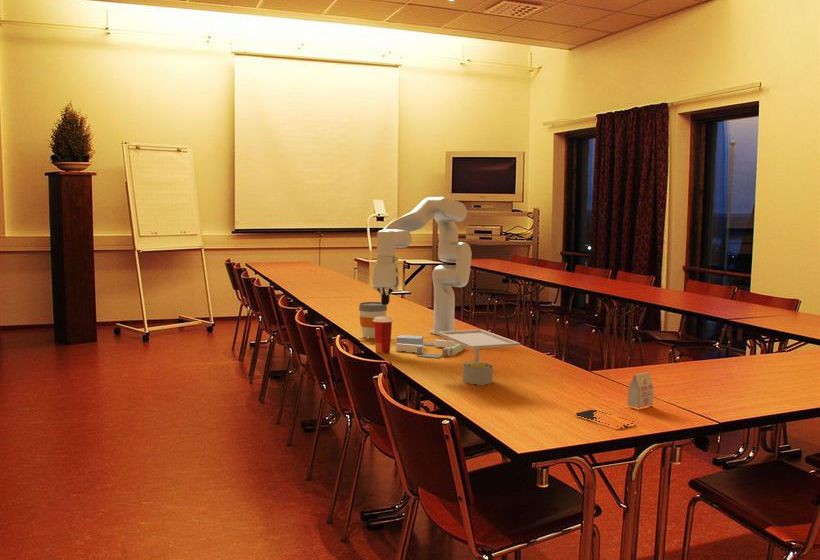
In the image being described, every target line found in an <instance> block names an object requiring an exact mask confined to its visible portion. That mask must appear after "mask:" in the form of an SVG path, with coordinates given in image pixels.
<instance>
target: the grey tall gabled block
mask: <svg viewBox="0 0 820 560" xmlns="http://www.w3.org/2000/svg"><path fill="white" fill-rule="evenodd" d="M653 404H654V385H653V381H652V379H651V375H650V372H648V371H647V372H643V373H637V374H634V375H633V376H632V379H631V382H630V383H629V385H628V387H627V405H629V406H633V407H637V408H640V407H645V406H649V405H653Z"/></svg>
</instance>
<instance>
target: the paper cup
mask: <svg viewBox="0 0 820 560" xmlns="http://www.w3.org/2000/svg"><path fill="white" fill-rule="evenodd" d="M392 318H393V317H391V316H387V315H386V316H380V317H375V318H374V320H373V321H374V329H375V339H374V345H375V353H376V352H377V353H376V354H380V353H386V354H390V353H389V352H390V351H391V340H392V328H393V327H392V325H393V319H392Z"/></svg>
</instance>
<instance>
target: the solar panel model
mask: <svg viewBox="0 0 820 560" xmlns="http://www.w3.org/2000/svg"><path fill="white" fill-rule="evenodd" d="M437 334H438V335H437V336H440V337H443V338H445V339H447V340H448V341H454V342H456V343H459V344H461V345H463V346H465V347H466V348H468V349H471V350H474V361H468V362H465V363H463V364H462V382H463V383H465V384H467V383H469V384H468V385H472V384H477V385H476V386H486V385H485V384H488V385H491V384H493V374H494V373H493V371H494V370H493V369H494V367H493V366H494V365H492V364H491V363H488V362H481V361H480V349H486V348H487V349H488V348H503V347H504V348H505V347H520V346H521V342H518V341H515V340H513V339H510V338H507V337H504V336H501V335H499V334H496V333H493V332H491V331H487V330H484V329H481V328H480V329H479V328H478V329H466V330H464V329H463V330H457V331H440V332H437ZM490 383H491V384H490Z"/></svg>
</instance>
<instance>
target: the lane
mask: <svg viewBox="0 0 820 560" xmlns="http://www.w3.org/2000/svg"><path fill="white" fill-rule="evenodd" d="M424 345H429V346H428V347H434V348H438V347H445V348H442V352H441V353H442V354H437V353H427V352H425V353H424ZM465 347H466V346H463V345H461V344H459V343H456V342H454V341H452V340H448V339H447V340H444V339H441V338H437V339H435V342H429V341H423V345H412V344H400V343H397V342H396V344H395V352H401V351H406V352H405V353H412V352H415V354H416V357H417V356H418V357H417V358H427V359H429V358H430V359H438V358H439V359H440V358H446V357H454V356H456V355H457V354H459V353H461V352H462V351H463V350H464V351H465ZM458 352H459V353H458ZM417 354H419V355H417ZM447 355H448V356H447ZM453 355H454V356H453ZM445 356H446V357H445Z"/></svg>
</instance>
